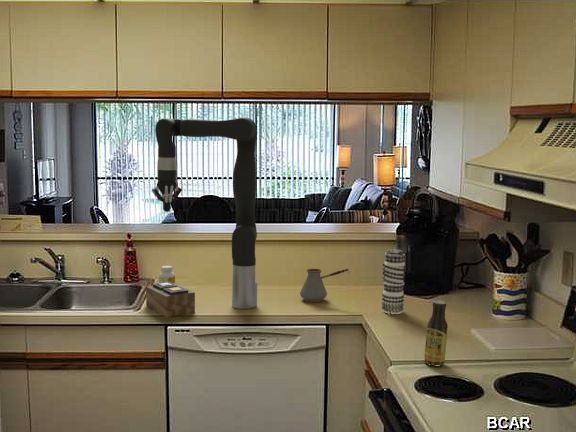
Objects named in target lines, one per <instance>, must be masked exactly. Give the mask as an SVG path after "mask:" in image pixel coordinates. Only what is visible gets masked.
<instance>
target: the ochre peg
mask: <svg viewBox="0 0 576 432" xmlns="http://www.w3.org/2000/svg"><path fill="white" fill-rule="evenodd" d="M168 290H170V291H180V290H183V289H181V288H179V287H176V288H168Z"/></svg>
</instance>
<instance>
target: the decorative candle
mask: <svg viewBox="0 0 576 432" xmlns="http://www.w3.org/2000/svg"><path fill="white" fill-rule="evenodd" d="M384 255H385V257H384V263H382V267H383V268H382V275H383V276H382V279H383V280H382V283H383V285H384V286H383V293H382V302H381V305H382V306H381V309H382V310H383V311H385V312H388V313H399V312H401V311H403V310H404V301H405V300H404V298H405V295H404V285H405V280H406V277H405V276H407V275H406V273H405V272H406V271H407V269H406V267H407V265H406V263H405V262H406V261H405V257H406V256H405V255H406V254H405V253H404V252H403V250H401V249H397V248H394V249H393V248H391V249H388V250H387V251H386V252H385V253H384Z"/></svg>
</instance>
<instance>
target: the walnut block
mask: <svg viewBox="0 0 576 432" xmlns="http://www.w3.org/2000/svg"><path fill="white" fill-rule="evenodd" d="M165 283H169V284H172V286H164V287H162V286H160V285H158V284H161V283H159V282H158V283H157V282H156V283H152V285H150V286H145V293H146V294H145V299H146V300H145V303H146V304H145V306H147V308H149V309H150V310H152V311H154V312H155V313H157V314H160V315H161V316H163V317H166V318H170V317H176V316H182V315H183V316H184V315H189V314H190V315H191V314H195V313H196V292H195V291H193V290H191V289H189V288H185V287H183V286H181V285H179V284H176V283H175V284H174V283H171V282H165ZM176 287H179V288H181V289H183V290H180V291H170V290H168V288H176Z"/></svg>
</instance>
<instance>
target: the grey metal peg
mask: <svg viewBox="0 0 576 432" xmlns="http://www.w3.org/2000/svg"><path fill="white" fill-rule="evenodd" d="M158 285H160V286H162V287H164V286H172V284H169V283H161V284H158Z"/></svg>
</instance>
